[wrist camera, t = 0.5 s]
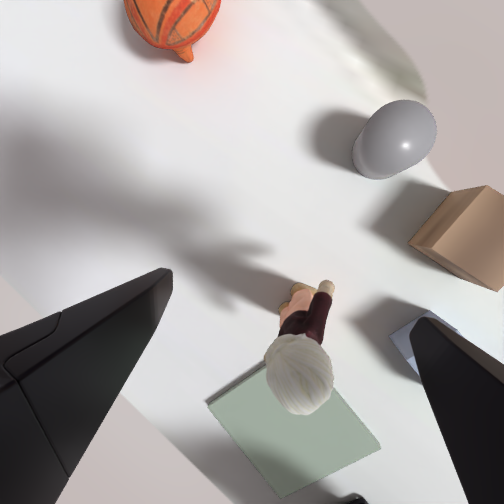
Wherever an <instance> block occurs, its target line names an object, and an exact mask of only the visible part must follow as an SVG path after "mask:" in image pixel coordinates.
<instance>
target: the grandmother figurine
mask: <svg viewBox="0 0 504 504" xmlns="http://www.w3.org/2000/svg"><path fill="white" fill-rule="evenodd" d="M334 289H335V286H334V284H333V283H332V282H331V281H329V280H324V281H322V282H321V283H320V284H319V289H318V290H316V289H315V288H312V287H310V286H307V285H305V284H302V283H297V284H295V285H294V286H293V287H292V289H291V296H292V299H291V301H290V302H285V303H283V304H282V305H281V306H280V307H279V314H280V331H279V334H278V337H277V338H276V339H275V340H274V342H273V343H272V344H271V345H270V347H269V348H268V350H267V352H266V353H265V355H264V361H265V363H266V368H267V371H266V382H267V384H268V386H269V387H270V388H271V390H272V393H273V394H274V396H275V397H276V399H277V400H278V401H279V402H280V403H281V404H282V405H283V407H285V409H287V410H288V411H289V412H290V413H292V414H297V415H300V414H302V415H309V414H311V413H313V412H314V411H315V410H317V409H318V408H319V407H320V406H321V405H322V404H324V403H325V402H326V401H327V400H328V399H329V398H330V396H331V392H332V390H333V381H334V376H333V372H332V365H331V360H330V358H329V356H328V355H327V353H326V352H325V351H324V350H323V348H322V347H321V346H320V345H321V344H322V341H323V336H324V329H325V324H326V319H327V316H328V312H329V309H330V307H331V304H332V293H333V292H334Z"/></svg>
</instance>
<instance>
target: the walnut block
mask: <svg viewBox="0 0 504 504" xmlns="http://www.w3.org/2000/svg"><path fill="white" fill-rule="evenodd" d="M408 244H409V245H411V246H412V247H414V248H415V249H417V250H418V251H420V252H421V253H423V254H424V255H426V256H427V257H429V258H430V259H432V260H433V261H435V262H436V263H438V264H439V265H441V266H442V267H444V268H445V269H447V270H448V271H450V272H451V273H453V274H454V275H456V276H457V277H459V278H460V279H463V280H466V281H468V282H471V283H474V284H477V285H479V286H482V287H485V288H487V289H490V290H493V291H496V292H498V291H499V290H500V289H501V288H502V287H503V286H504V195H502V194H500V193H499V192H497V191H496V190H494V189H492V188H491V187H489V186H488V185H485V186H481V187H475V188H470V189H464V190H459V191H454V192H451V193H450V194H449V195H448V196H447V198H446V199H445V200H444V201H443V202H442V203H441V205H440V206H439V207H438V208H437V209H436V211H435V212H434V213H433V214H432V215H431V216H430V218H429V219H428V220H427V221H426V222H425V223H424V225H423V226H422V227H421V228H420V229H419V230H418V232H417V233H416V234H415V235H414V236H413V237H412V239H411V240H410V241H409V242H408Z"/></svg>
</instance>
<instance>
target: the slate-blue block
mask: <svg viewBox="0 0 504 504" xmlns="http://www.w3.org/2000/svg"><path fill="white" fill-rule="evenodd" d="M422 316H426V317H431V318H435V319H437V320H438V321H440V322H441V323H443V324H444V325H446V326H447V327H449V328H450V329H452V330H453V331H455V332H456V333H458V334H459V335H461V334H460V332H459V331H458V330H457V329H455V328H454V327H452V326H451V325H450V324H448V323H447V322H445V321H444V320H443V319H441V318H440V317H438V316H437V315H436V314H434V313H433V312H431V311H430V310H429V311H428V312H426V313H425V314H423V315H421V316H420V317H422ZM420 317H418V318H417V319H415V320H413V321H412V322H410V323H409V324H407V325H405V326H404V327H402V328H400V329H399V330H397V331H396V332H394V333H392V334H391V335H389V337H390V339H391V340H392V342H393V343H394V344H395V346H396V347H397V348H398V350H399V351H400V352H401V354H402V355H403V356H404V358H405V359H406V361H407V362H408V363H409V364H410V365H411V366H412V368H413V369H414V370H415V371H416V372H417V374H418V375H419V372H418V368H417V365H416V361H415V358H414V354H413V350H412V347H411V343H410V340H409V334H410V331H411V330H412V328H413V326H414V325H415V323H416V322H417V320H418V319H419V318H420ZM461 336H462V335H461ZM462 337H463V336H462ZM463 338H464V337H463ZM419 376H420V375H419Z"/></svg>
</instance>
